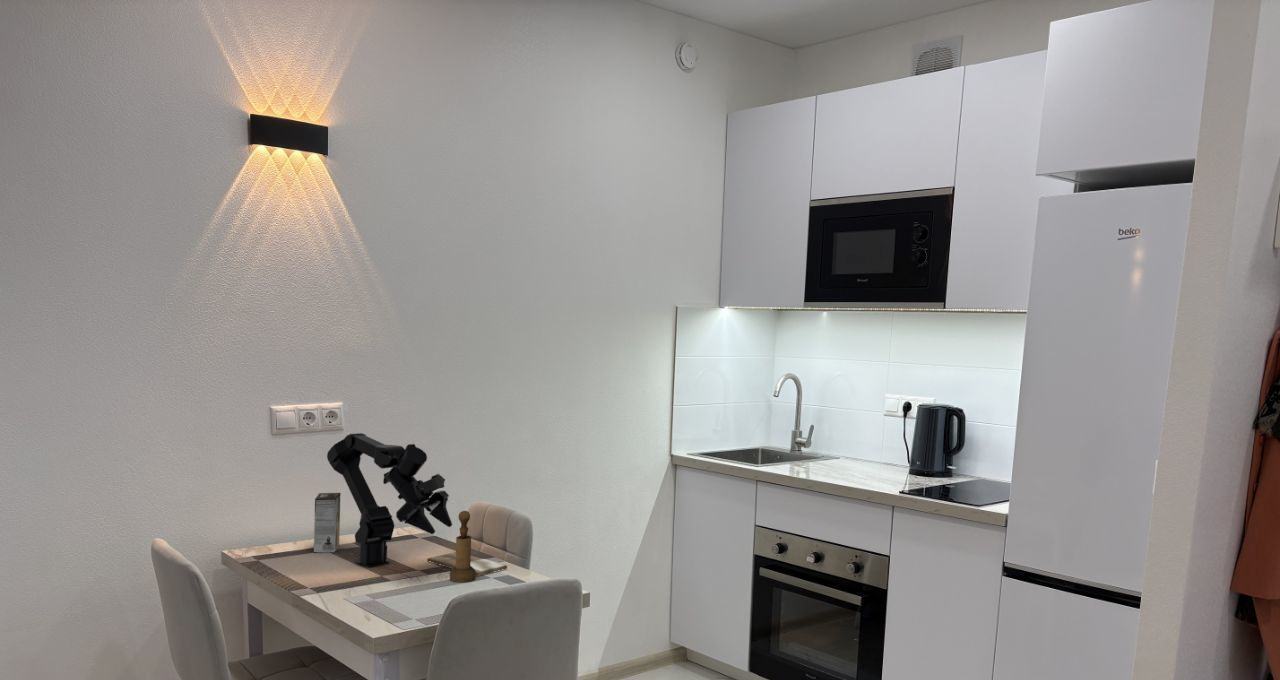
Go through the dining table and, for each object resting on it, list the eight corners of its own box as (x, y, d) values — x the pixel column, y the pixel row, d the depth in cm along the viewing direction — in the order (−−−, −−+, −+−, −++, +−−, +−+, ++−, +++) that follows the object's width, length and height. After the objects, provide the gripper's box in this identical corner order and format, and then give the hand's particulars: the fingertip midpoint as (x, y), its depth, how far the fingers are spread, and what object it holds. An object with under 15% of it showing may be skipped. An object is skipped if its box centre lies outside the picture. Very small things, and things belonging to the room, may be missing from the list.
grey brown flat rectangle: (477, 576, 229) (477, 572, 229) (427, 561, 243) (427, 557, 243) (507, 569, 237) (507, 564, 237) (456, 555, 251) (456, 551, 251)
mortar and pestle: (453, 583, 222) (455, 514, 222) (446, 577, 228) (448, 509, 228) (478, 580, 225) (480, 512, 225) (471, 574, 231) (473, 508, 231)
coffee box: (317, 545, 258) (318, 492, 258) (339, 545, 260) (341, 492, 260) (313, 553, 249) (314, 498, 250) (336, 552, 251) (337, 497, 251)
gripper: (407, 470, 220) (445, 516, 217) (443, 461, 238) (478, 503, 235) (380, 498, 222) (416, 544, 219) (417, 487, 240) (451, 530, 237)
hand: (442, 529), depth 228 cm, fingers open, 9 cm apart
